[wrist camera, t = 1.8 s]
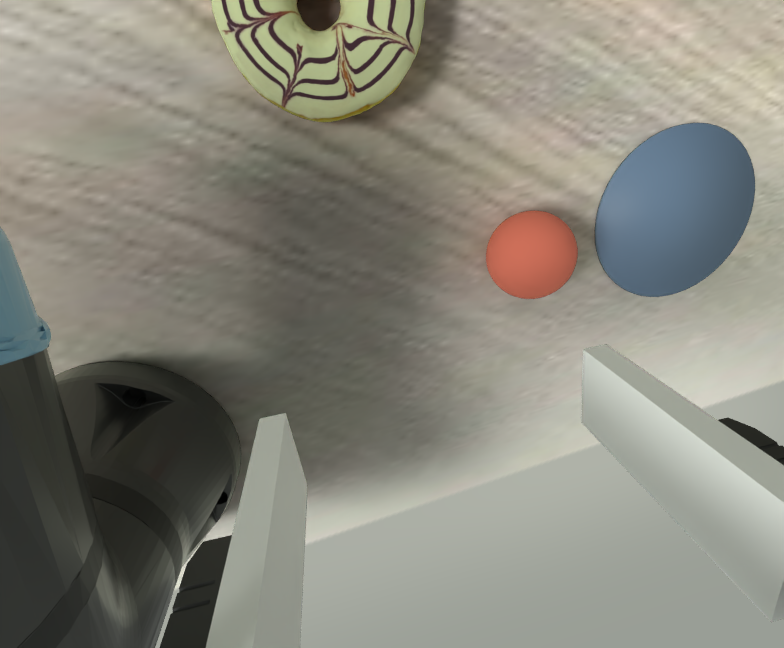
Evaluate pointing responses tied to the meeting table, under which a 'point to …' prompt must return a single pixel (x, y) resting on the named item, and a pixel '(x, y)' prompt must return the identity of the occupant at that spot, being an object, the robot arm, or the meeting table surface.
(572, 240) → the ball
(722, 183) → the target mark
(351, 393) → the meeting table surface
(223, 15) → the decorated donut
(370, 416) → the meeting table surface
